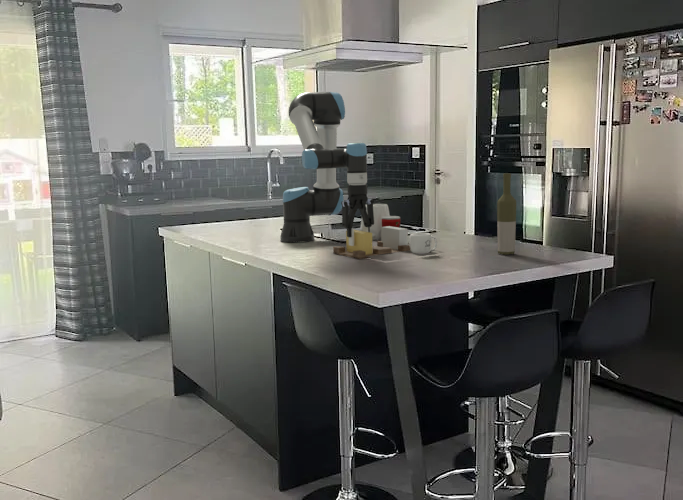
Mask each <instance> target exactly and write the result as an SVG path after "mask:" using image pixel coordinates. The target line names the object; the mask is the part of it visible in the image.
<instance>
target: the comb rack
mask: <svg viewBox="0 0 683 500" xmlns="http://www.w3.org/2000/svg"><path fill="white" fill-rule="evenodd" d="M376 241H377V243H376V245H372V254H366V251H361V250H357V251H353V252H349V251H346V246H341V245H339V246H338V245H337V246H333V249H332V250H333V251H332V252H333V254H335V255H340V256H343V257H348V258H352V259H357V260H365V259H371V257H372V256H379V255H386V254H387V255H388V254H392V253H393V254H394V253H401V252H408V251H410V252H411V249H410V245H409V244H408V245H400V246H399V245H398V250H396V249H392V248H389V247H383V242H381V240H376ZM399 247H400V248H399Z"/></svg>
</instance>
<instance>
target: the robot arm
mask: <svg viewBox="0 0 683 500" xmlns="http://www.w3.org/2000/svg"><path fill="white" fill-rule="evenodd" d="M345 117H346V107H345V102H344V99H343V96H342V95H341V94H340V93H339V92H337V91H334V92H333V91H319V92H318V91H313V92H311V91H310V92H309V91H305V92H302V93H300V94H298V95H297V96H295V97H294V98H293V99H292V101H291V103H290V104H289V107H288V118H289V120H290V122H291V123H292V124H293V125H294V127H295V129H296V133H297V135H298V137H299V141H300V143H301V146H302V149H303V150H302V153H301V163H302V168H304V169H306V170H316V182H315V183H314V184H313V187H312V188H313V189H310V188H309V186H302V187H300V186H299V187H295V188H290V189H286V190H284V191H283V193H282V212H283V225H282V229H281V233H280V242H284V243H306V242H311V241H314V240H315V233H314V230H313V227H312V224H311V221H310V220H311V217H316V216H332V215H333V216H334V215H338V214H339V213H340V212H341V211H342V212H341V214H342V215H341V221H342V222H341V227H342V228H345V229H346V231H347V237H349V245H350V246H354V230H355V229H354V228H353V224H354V221H355V217H356V212H357V211H358V210H359V211H360V215H361V219H363V222H364V226H365V227H363V231H365V232H370V227H371V226H372V225H374V213H373V204H375V203H374V201H375V199H373V198H369V197H368V196H367V195H368V185H367V183H368V170H367V169H368V161H367V159H368V156H367V155H368V151H367V144H366V143H364V142H357V143H356V142H353V143H347V144H346V147H345V148H337V141H338V140H337V139H338V138H337V135H338V134H337V133H338V132H337V130H338V129H337V128H338V127H340V126H341V120H342V121H343V120H344V119H345ZM337 169H346V176H347V177H346V180H347V181H346V182H347V184H348V185H347V196H348V197H347V199H346V200H344V191H343V189H342V188H340V184H338V182H337ZM366 205H367V211H366ZM367 214H368V215H367Z"/></svg>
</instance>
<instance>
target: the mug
mask: <svg viewBox="0 0 683 500" xmlns="http://www.w3.org/2000/svg"><path fill="white" fill-rule="evenodd" d="M408 240H409V241H408V243H409V244H408V245H409V246H410V252H411V254H417V255H418V254H428V253H431V252H432V251H435V250H436V249H437V246H438V241H437V239H436V237H435V236H433V235H431V233H429V232H413V233H410V234H409V237H408ZM433 240H434V247H433V248H432V245H433V243H432V241H433Z"/></svg>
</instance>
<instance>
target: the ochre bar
mask: <svg viewBox="0 0 683 500" xmlns="http://www.w3.org/2000/svg"><path fill="white" fill-rule="evenodd" d="M345 237H346V238H345V241H346V243H345V245H346V246H345V250H346V251H349V252H353V251H357V250H361V251H366V254H372V246H373V240H372V233H370V232H365V231H360V229H359V230H356V229H354V246H350V245H349V237H347V230H346V231H345Z"/></svg>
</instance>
